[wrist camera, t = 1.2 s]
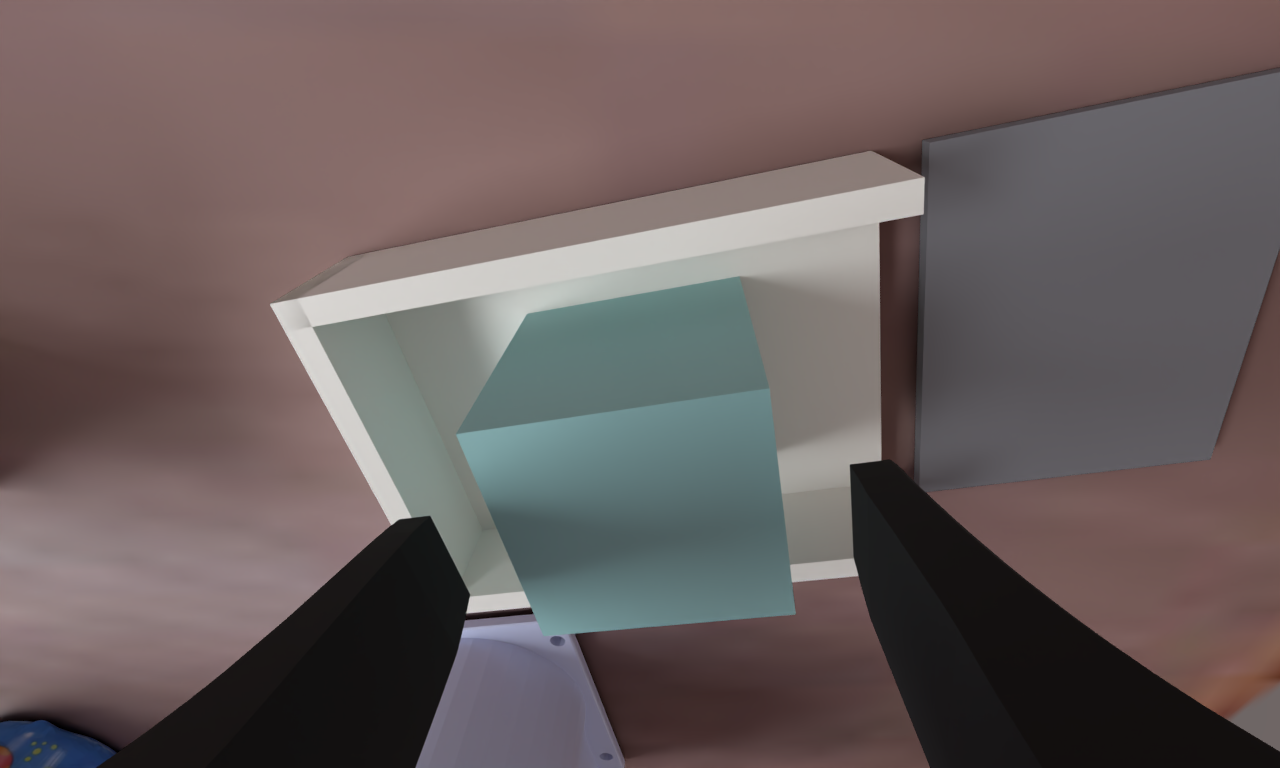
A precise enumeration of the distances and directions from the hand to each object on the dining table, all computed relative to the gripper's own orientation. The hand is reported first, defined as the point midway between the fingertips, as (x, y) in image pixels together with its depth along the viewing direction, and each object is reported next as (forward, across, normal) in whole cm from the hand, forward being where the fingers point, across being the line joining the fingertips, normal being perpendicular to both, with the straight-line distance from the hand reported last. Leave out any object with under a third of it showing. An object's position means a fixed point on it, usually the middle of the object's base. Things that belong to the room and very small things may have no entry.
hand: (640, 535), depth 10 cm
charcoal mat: (+6, -10, 0) cm, 11 cm away
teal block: (+5, 0, 0) cm, 5 cm away
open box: (+6, +1, 0) cm, 6 cm away
